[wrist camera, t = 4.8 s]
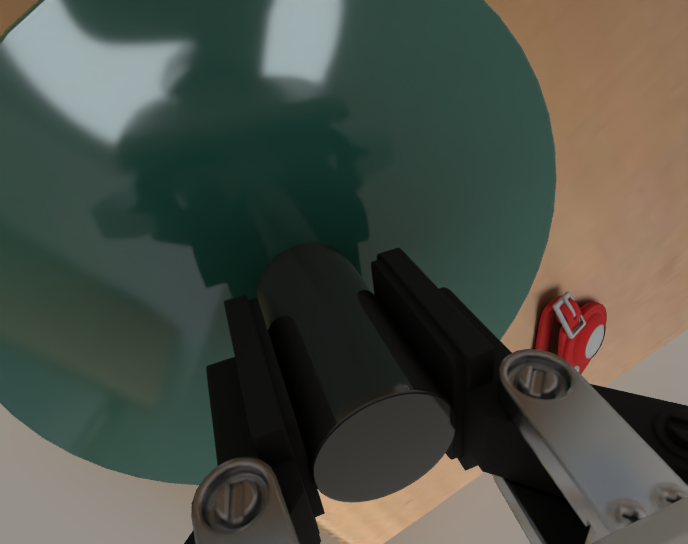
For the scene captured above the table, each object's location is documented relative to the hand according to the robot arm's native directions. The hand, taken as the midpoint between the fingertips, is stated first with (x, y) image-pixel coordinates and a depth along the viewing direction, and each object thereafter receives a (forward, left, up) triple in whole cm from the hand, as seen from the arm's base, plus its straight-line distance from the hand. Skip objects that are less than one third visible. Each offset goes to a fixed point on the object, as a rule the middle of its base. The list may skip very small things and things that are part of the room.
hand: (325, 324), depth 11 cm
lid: (0, 0, -2) cm, 2 cm away
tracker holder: (+27, +29, -21) cm, 45 cm away
